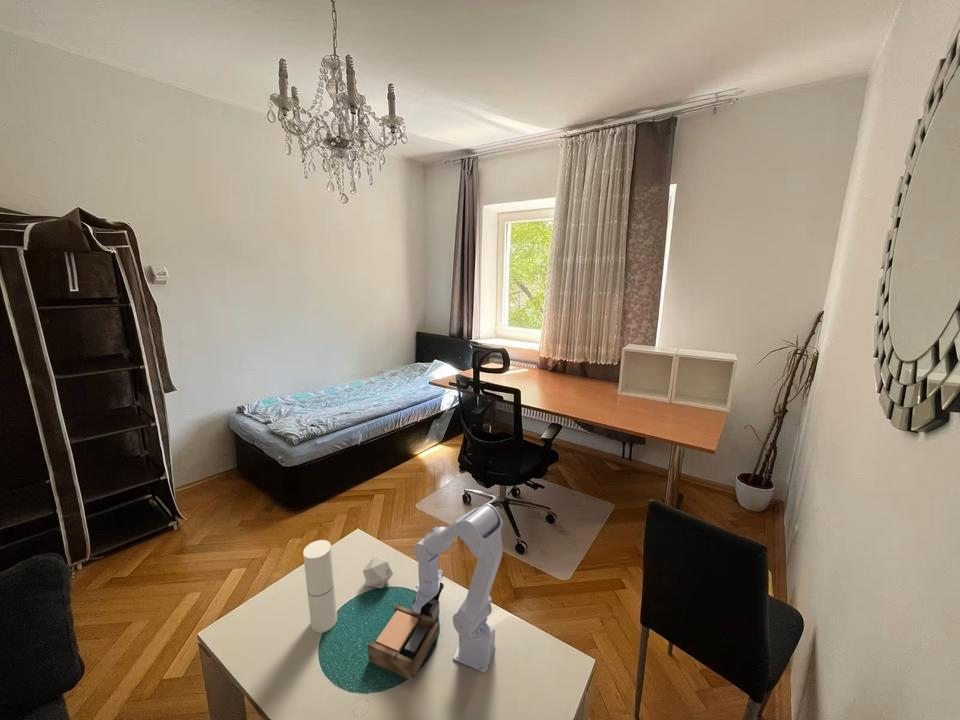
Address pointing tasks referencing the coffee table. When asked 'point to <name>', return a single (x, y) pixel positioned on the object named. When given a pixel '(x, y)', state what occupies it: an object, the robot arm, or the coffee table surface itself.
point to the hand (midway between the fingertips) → (429, 613)
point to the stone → (434, 608)
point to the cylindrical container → (320, 585)
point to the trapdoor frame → (398, 661)
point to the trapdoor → (402, 634)
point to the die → (377, 572)
